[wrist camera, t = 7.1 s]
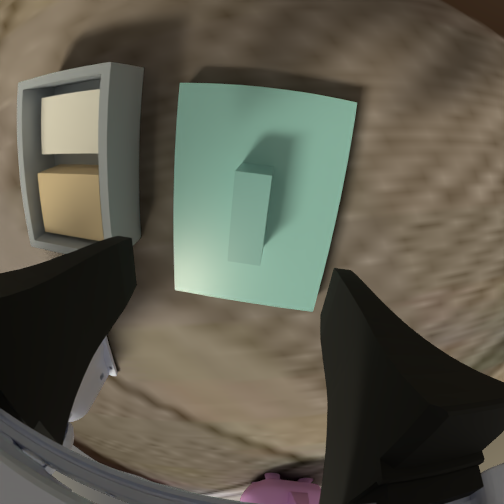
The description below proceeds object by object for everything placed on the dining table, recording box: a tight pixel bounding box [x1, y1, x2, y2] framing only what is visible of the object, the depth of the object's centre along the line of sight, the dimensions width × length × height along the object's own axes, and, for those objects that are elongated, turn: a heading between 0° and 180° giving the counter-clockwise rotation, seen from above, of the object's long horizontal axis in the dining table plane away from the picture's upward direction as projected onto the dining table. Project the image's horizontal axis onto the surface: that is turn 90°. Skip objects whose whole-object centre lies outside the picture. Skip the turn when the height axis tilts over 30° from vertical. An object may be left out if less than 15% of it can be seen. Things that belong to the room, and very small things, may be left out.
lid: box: [174, 83, 357, 312], centre depth 17 cm, size 14×10×4 cm
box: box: [17, 62, 144, 254], centre depth 17 cm, size 12×8×4 cm, turn 174°
